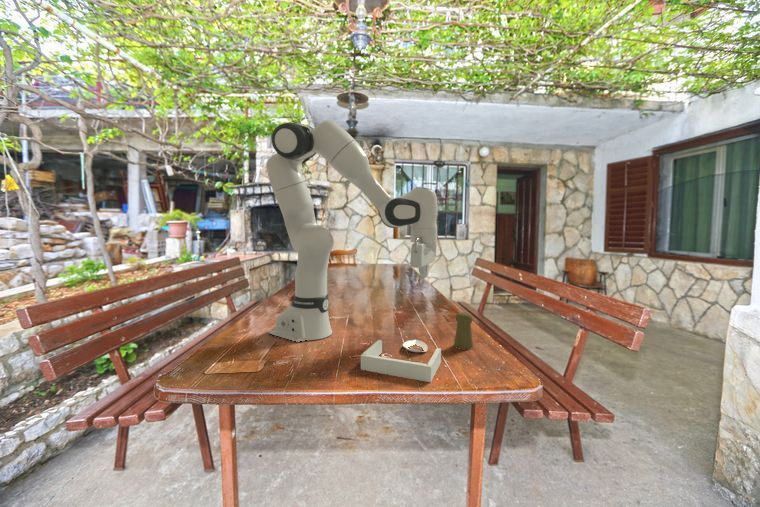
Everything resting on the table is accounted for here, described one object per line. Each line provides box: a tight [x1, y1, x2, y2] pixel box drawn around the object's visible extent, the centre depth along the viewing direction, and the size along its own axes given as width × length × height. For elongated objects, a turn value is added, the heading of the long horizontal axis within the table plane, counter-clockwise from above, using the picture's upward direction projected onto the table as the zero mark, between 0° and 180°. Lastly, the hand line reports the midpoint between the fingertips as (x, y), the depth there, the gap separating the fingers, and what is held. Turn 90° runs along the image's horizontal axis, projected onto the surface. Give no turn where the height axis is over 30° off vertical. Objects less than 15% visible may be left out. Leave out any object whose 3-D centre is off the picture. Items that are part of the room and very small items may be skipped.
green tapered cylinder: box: [453, 311, 474, 350], centre depth 104 cm, size 6×6×11 cm
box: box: [360, 339, 442, 383], centre depth 90 cm, size 19×13×4 cm
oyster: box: [402, 338, 429, 353], centre depth 102 cm, size 8×12×2 cm, turn 170°
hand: (423, 277), depth 110 cm, fingers closed
